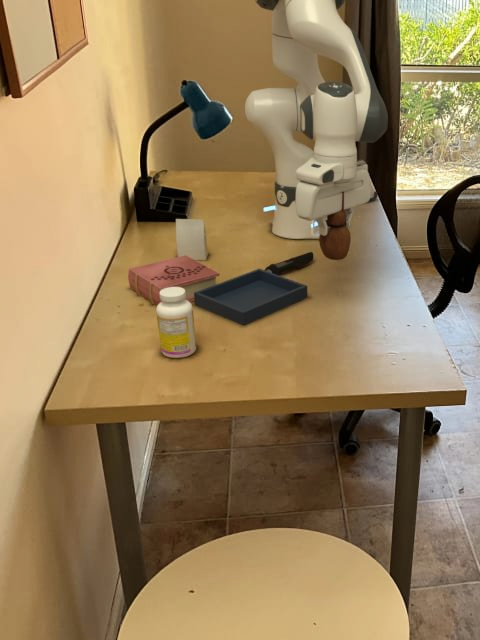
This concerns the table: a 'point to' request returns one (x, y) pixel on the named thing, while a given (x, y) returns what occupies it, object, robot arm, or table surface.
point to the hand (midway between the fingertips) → (335, 230)
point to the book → (171, 277)
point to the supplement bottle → (175, 323)
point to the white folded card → (191, 238)
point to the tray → (250, 296)
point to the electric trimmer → (290, 264)
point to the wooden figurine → (336, 236)
